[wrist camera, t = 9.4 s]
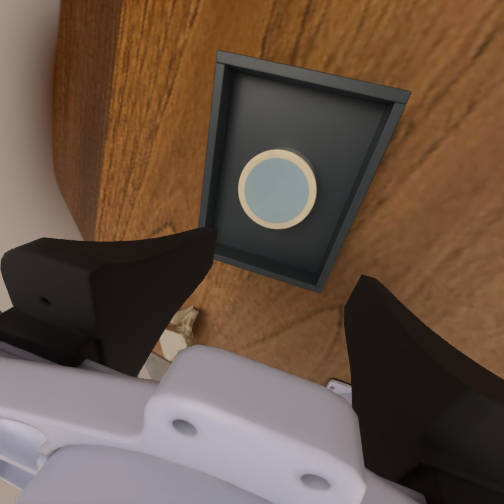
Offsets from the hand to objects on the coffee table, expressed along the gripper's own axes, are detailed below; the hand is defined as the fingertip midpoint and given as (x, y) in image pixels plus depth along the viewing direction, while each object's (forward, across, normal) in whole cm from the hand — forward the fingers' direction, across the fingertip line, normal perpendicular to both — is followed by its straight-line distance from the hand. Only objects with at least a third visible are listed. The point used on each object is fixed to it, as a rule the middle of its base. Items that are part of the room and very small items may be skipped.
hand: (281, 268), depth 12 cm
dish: (+9, +2, -2) cm, 9 cm away
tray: (+9, +2, -2) cm, 10 cm away
